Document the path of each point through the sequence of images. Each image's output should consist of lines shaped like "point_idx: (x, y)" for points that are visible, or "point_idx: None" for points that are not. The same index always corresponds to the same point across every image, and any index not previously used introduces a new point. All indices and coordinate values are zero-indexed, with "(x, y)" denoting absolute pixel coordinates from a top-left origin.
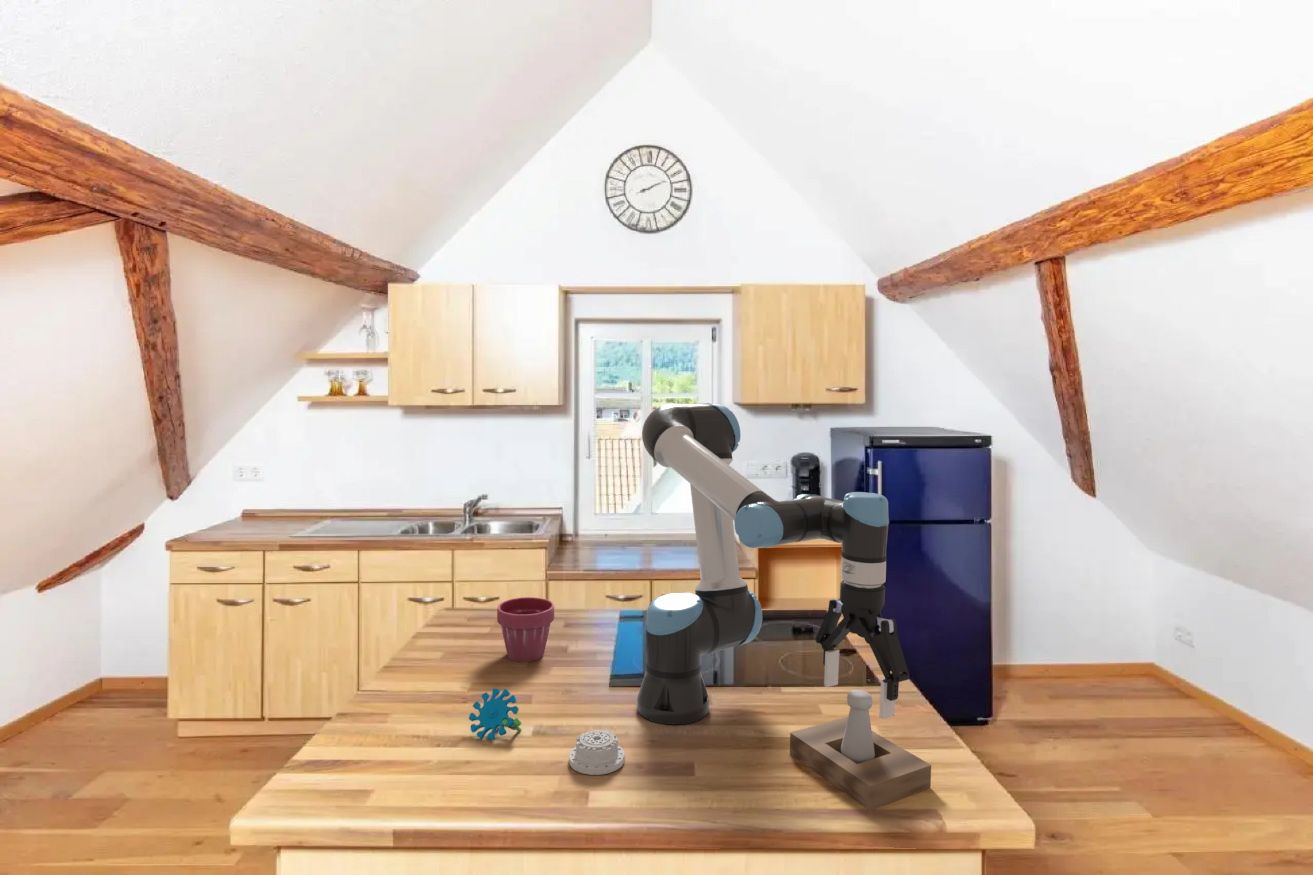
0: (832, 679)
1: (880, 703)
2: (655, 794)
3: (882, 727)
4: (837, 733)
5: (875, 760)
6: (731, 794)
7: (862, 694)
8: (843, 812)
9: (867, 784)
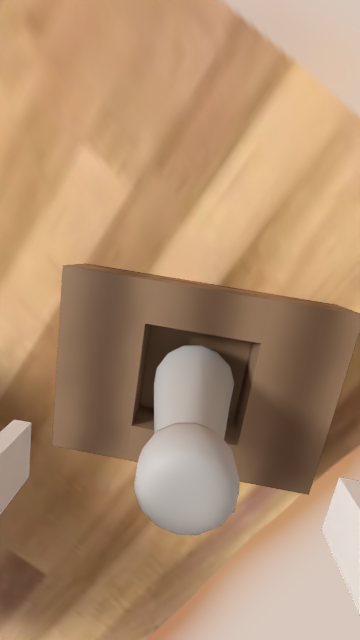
0: (12, 473)
1: (353, 593)
2: (58, 636)
3: (101, 138)
4: (115, 365)
5: (255, 402)
6: (118, 572)
7: (204, 510)
8: (264, 492)
9: (300, 492)
